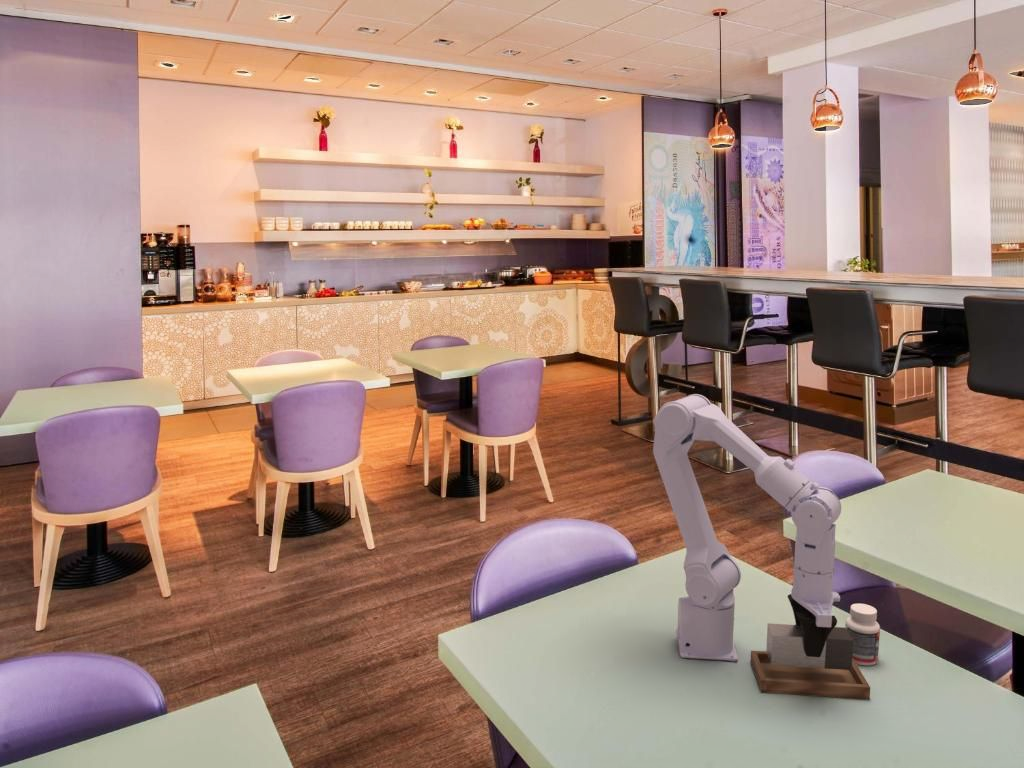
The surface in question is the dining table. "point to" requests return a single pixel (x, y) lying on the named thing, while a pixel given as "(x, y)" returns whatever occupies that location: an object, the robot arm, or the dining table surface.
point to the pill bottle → (864, 633)
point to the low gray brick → (790, 651)
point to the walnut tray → (808, 679)
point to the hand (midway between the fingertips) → (809, 648)
